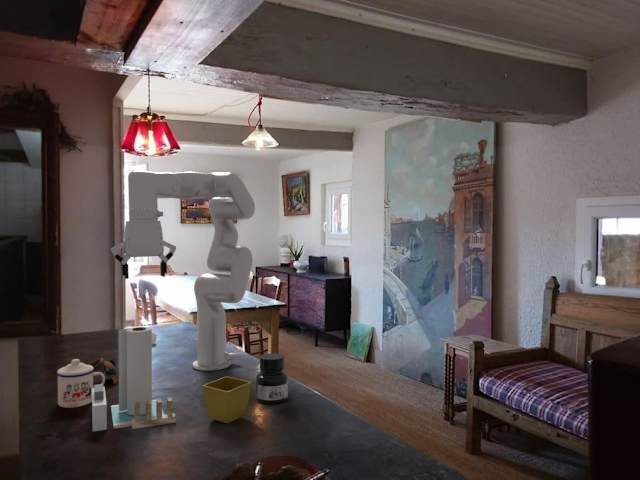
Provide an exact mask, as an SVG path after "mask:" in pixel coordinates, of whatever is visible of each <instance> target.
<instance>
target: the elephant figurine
mask: <svg viewBox="0 0 640 480" xmlns="http://www.w3.org/2000/svg"><path fill="white" fill-rule="evenodd" d="M159 335H160V333H158V334H156V333H155V331H153V330H152V345H155V344H156V342H157V338H158V337H157V336H159Z"/></svg>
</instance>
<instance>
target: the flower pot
mask: <svg viewBox="0 0 640 480" xmlns="http://www.w3.org/2000/svg"><path fill="white" fill-rule="evenodd" d="M251 385H252V381H248V380H245V379H240V378H235V377H232V376H223V377H221V378H219V379H216V380H213V381H211V382H208V383H207V382H206V383H205V384H203V385H202V392H203V399H204V404H205V408H206V410H207V413H208V414H209V415H210V418H212V419H213V420H215V421H218V422H220V423H225V424H230V423H232V422H234V421H236V420H238V419H240V418H241V417H242V416H243V414H244V413H245V411H246V409H247V407H248V404H249V401H250V394H251V393H250V392H251V387H252V386H251Z"/></svg>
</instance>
